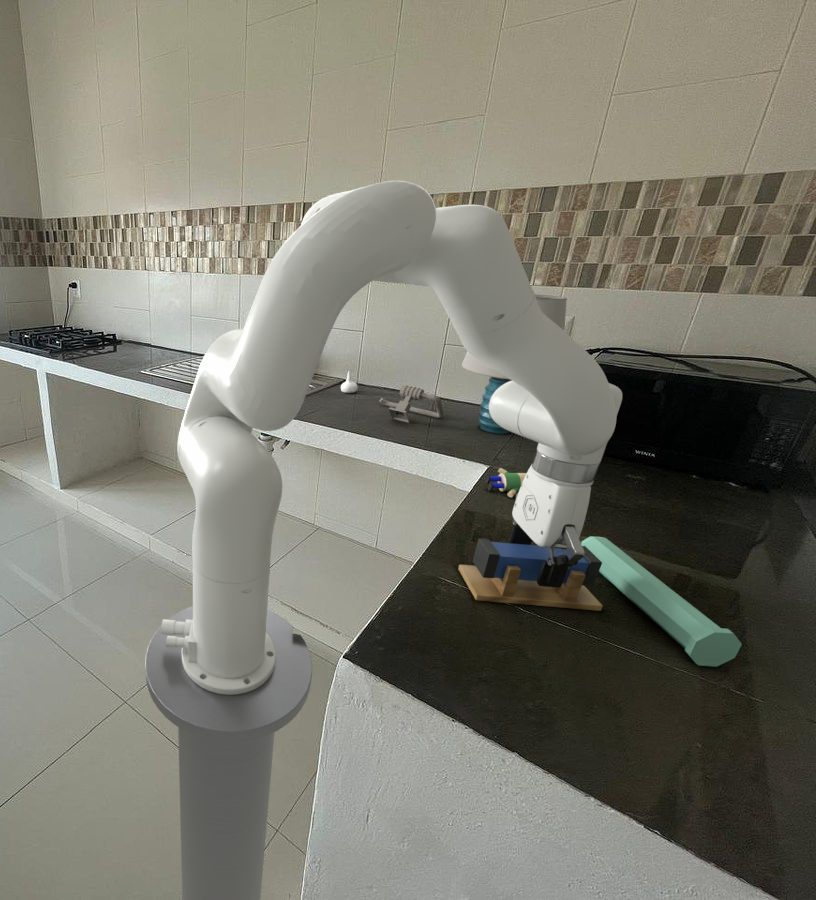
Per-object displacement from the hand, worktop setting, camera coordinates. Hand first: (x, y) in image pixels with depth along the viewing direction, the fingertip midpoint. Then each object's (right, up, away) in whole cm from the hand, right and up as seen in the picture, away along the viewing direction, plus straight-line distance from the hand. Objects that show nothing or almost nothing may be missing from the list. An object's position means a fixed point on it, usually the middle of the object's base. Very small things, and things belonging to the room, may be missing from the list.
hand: (532, 565), depth 75 cm
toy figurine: (+18, +8, +33) cm, 39 cm away
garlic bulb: (+2, +40, +111) cm, 118 cm away
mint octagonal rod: (+16, -6, -1) cm, 17 cm away
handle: (0, -1, +1) cm, 1 cm away
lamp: (+36, +24, +73) cm, 85 cm away
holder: (0, -4, +2) cm, 4 cm away
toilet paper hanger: (+11, +29, +83) cm, 89 cm away
